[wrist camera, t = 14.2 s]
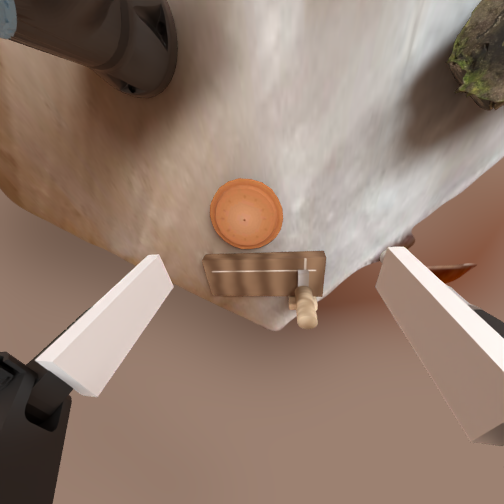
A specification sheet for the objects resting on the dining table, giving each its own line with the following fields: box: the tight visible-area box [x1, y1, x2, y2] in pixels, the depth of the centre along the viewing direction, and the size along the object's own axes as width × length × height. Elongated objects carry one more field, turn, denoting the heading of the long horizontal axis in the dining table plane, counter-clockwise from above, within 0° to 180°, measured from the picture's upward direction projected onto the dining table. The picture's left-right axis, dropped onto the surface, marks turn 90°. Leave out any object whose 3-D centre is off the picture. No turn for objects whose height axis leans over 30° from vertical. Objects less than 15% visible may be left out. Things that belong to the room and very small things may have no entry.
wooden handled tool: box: [289, 270, 318, 329], centre depth 44 cm, size 7×11×14 cm, turn 7°
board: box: [202, 251, 326, 297], centre depth 49 cm, size 30×12×3 cm, turn 97°
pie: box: [210, 178, 283, 249], centre depth 40 cm, size 16×16×5 cm
